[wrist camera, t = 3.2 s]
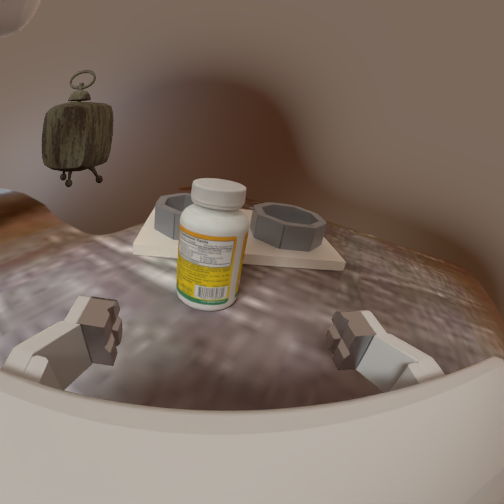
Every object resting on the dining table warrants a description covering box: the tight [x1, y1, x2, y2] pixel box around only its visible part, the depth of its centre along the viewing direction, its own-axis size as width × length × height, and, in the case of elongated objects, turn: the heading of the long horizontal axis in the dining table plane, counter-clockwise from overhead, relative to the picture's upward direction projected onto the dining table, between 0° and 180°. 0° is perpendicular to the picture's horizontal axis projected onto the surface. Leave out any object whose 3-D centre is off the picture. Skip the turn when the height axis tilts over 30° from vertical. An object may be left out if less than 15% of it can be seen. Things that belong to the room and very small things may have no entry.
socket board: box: [133, 193, 346, 271], centre depth 36 cm, size 24×16×4 cm, turn 98°
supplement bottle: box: [177, 178, 249, 311], centre depth 22 cm, size 5×5×10 cm
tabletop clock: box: [42, 70, 113, 187], centre depth 44 cm, size 14×9×25 cm, turn 89°
